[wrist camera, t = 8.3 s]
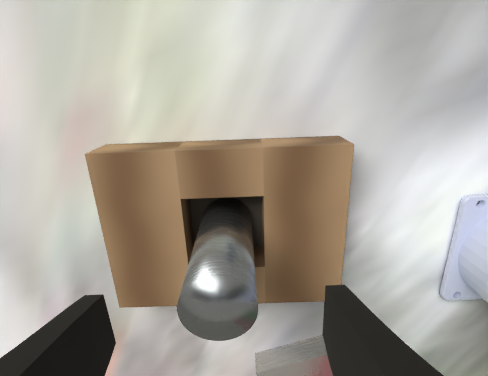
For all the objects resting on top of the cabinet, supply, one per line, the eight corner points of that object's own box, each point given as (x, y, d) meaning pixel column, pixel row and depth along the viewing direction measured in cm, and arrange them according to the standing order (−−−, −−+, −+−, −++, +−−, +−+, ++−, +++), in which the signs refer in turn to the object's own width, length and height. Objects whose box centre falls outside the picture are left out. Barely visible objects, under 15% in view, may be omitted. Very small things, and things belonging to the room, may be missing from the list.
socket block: (339, 135, 17) (353, 144, 15) (328, 276, 21) (339, 300, 19) (105, 144, 18) (84, 154, 15) (133, 282, 21) (119, 307, 19)
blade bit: (339, 327, 23) (347, 349, 21) (346, 349, 24) (355, 372, 22) (254, 349, 24) (255, 372, 22) (264, 369, 25) (265, 394, 23)
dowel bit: (248, 194, 19) (253, 272, 11) (253, 238, 20) (261, 336, 12) (198, 200, 19) (169, 280, 11) (206, 243, 20) (185, 344, 12)
